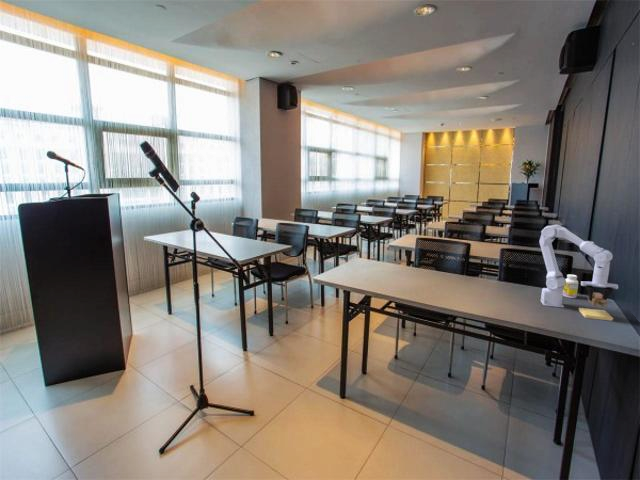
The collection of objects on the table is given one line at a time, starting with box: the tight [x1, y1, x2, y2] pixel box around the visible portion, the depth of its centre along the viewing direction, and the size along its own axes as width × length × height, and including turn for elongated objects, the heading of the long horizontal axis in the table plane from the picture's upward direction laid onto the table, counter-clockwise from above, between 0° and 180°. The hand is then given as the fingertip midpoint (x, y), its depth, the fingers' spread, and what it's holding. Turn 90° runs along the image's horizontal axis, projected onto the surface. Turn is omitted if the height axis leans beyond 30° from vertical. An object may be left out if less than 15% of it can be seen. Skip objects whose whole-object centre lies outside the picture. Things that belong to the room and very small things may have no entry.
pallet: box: [587, 296, 608, 308], centre depth 170 cm, size 5×8×3 cm, turn 158°
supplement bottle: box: [563, 273, 579, 299], centre depth 197 cm, size 7×7×13 cm
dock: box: [578, 307, 614, 322], centre depth 171 cm, size 11×10×2 cm
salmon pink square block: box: [592, 291, 603, 299], centre depth 169 cm, size 3×3×2 cm
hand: (596, 300), depth 170 cm, fingers closed on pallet, 5 cm apart
